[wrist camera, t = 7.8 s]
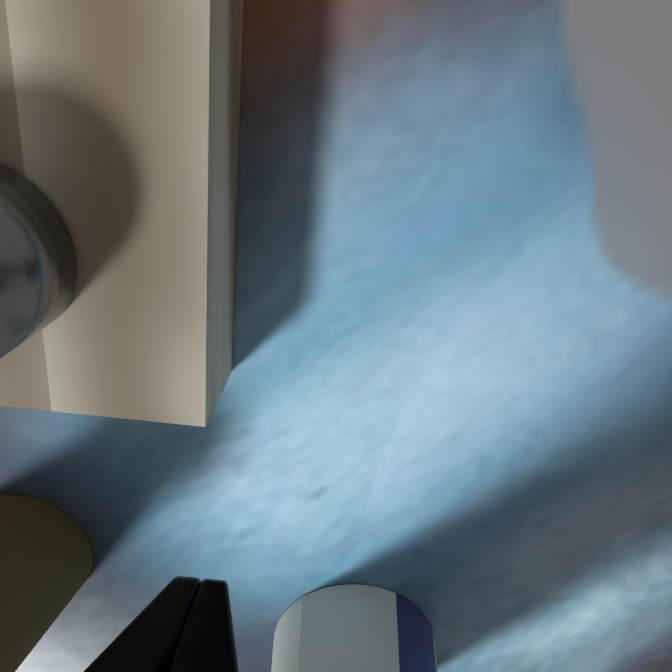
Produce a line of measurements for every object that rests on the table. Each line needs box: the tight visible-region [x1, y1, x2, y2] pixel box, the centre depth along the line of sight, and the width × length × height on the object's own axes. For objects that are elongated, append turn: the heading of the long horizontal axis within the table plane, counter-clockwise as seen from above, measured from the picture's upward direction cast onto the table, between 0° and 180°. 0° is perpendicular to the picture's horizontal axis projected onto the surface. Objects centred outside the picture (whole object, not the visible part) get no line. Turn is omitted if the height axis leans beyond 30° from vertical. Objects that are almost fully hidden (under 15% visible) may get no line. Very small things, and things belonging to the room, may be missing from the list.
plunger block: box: [0, 0, 243, 427], centre depth 15 cm, size 12×20×4 cm, turn 174°
